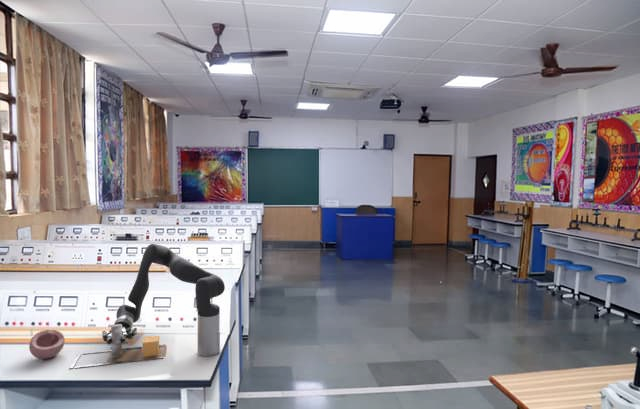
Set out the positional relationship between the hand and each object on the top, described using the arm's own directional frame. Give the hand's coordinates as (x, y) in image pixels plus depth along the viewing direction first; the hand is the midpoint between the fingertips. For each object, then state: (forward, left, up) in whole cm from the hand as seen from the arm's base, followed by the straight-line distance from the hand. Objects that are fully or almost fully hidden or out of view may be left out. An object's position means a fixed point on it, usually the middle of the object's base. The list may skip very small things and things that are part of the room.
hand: (115, 341), depth 157 cm
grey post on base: (-8, -3, -9) cm, 12 cm away
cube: (-13, -3, -8) cm, 15 cm away
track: (-2, -3, -9) cm, 10 cm away
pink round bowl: (+28, -13, -9) cm, 32 cm away
